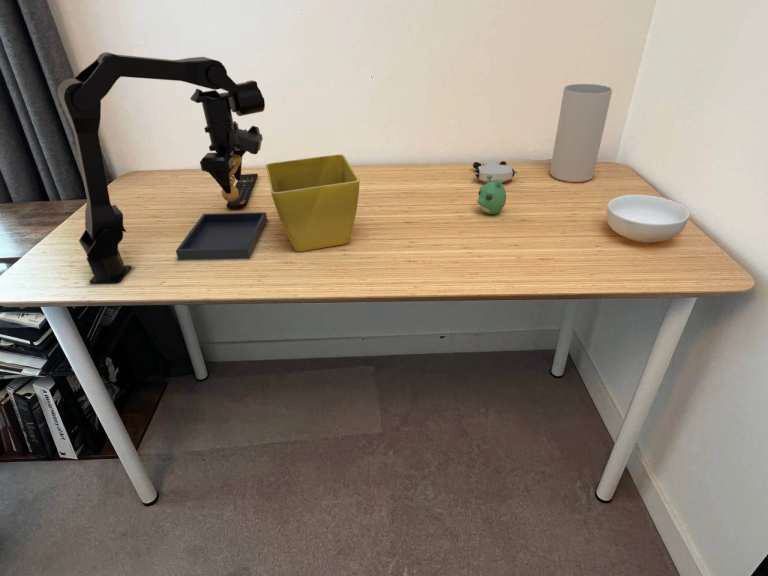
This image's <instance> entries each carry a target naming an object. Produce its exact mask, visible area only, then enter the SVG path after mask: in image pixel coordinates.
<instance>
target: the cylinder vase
mask: <svg viewBox="0 0 768 576" xmlns="http://www.w3.org/2000/svg"><path fill="white" fill-rule="evenodd" d="M612 93H613V88H612V87H610V86H606V85H602V84H595V83H574V84H568V85H565V86H564V87H563V93H562V99H561V103H560V111H559V117H558V122H557V128H556V133H555V140H554V144H553V145H554V146H553V151H552V158H551V163H550V169H549V174H550V176H552V178H554V179H556V180H558V181H561V182H567V183H584V182H588V181H590V180H592V178H593V177H594V175H595V171H596V166H597V161H598V157H599V152H600V148H601V144H602V143H601V142H602V139H603V134H604V130H605V125H606V120H607V116H608V111H609V108H610V103H611V98H612Z"/></svg>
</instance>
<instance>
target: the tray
mask: <svg viewBox="0 0 768 576" xmlns="http://www.w3.org/2000/svg"><path fill="white" fill-rule="evenodd" d="M267 215H268V214H267V212H266V211H265V212H263V211H261V212H260V211H259V212H226V213H225V212H221V213H217V212H216V213H203V214H202V215H201V216H200V218H199V219H198V221H196V223H195V224H194V225H193V227H192V229H191V230H190V231H189V232H188V234H187V235H186V236H185V238H184V239H183V240H182V242H181V243H180V244H179V246H178V247H177V248H176V250H175V253H176V256H177V260H178V261H200V260H203V261H204V260H242V259H243V260H244V259H245V260H246V259H247V260H248V259H250V258H251V257H252V255H253V252H254V250H255V248H256V246H257V244H258V242H259V240H260V238H261V235H262V234H263V231H264V229H265V228H266V225H267V223H268V216H267Z"/></svg>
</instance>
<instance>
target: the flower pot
mask: <svg viewBox="0 0 768 576" xmlns="http://www.w3.org/2000/svg"><path fill="white" fill-rule="evenodd" d="M265 169H266V173H267V174H266V175H267V179H268V183H269V188H270V193H271V196H272V200H273V203H274V206H275V209H276V212H277V214H278V217H279V219H280V223H281V225H282V227H283V229H284V231H285V233H286V235H287V237H288V239H289V241H290V244H291V245H292V248H294V250H295V251H296V252H299V253H300V252H306V251H310V250H311V251H313V250H317V249H324V248H331V247H335V246H342V245H346V244H348V243H349V241H350V238H351V236H352V232H353V229H354V225H355V221H356V217H357V209H358V205H359V204H358V203H359V195H360V178H359V177H358V175H357V174H356V172H355V171H354V169H353V167H352V166H351V164H350V163H349V161H348V159H347V158H346V156H345V155H344V154H340V153H339V154H331V155H324V156H314V157H307V158H300V159H299V158H298V159H293V160H292V159H291V160H285V161H284V160H283V161H277V162H269V163H267V164H266V165H265Z"/></svg>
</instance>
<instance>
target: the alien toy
mask: <svg viewBox="0 0 768 576" xmlns="http://www.w3.org/2000/svg"><path fill="white" fill-rule="evenodd" d="M486 178H487V179H489V182H488V183H486V182H485V184H483V185H481V186H479V191H478V193H477V194H478V199H476V201H477V204H478V205H479V206H480V208H481V210H482V211H483V212H484V213H485V214H487V215H495V214H498V213H500V212H501V211H502V210H503V209H504V208H505V207H504V206H506V202H507V191H506V188H505V186H503V183H504V182H503V181H502V180H501V179H498V180H497V181H491V178H492V175H488V176H487V177H486Z"/></svg>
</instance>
